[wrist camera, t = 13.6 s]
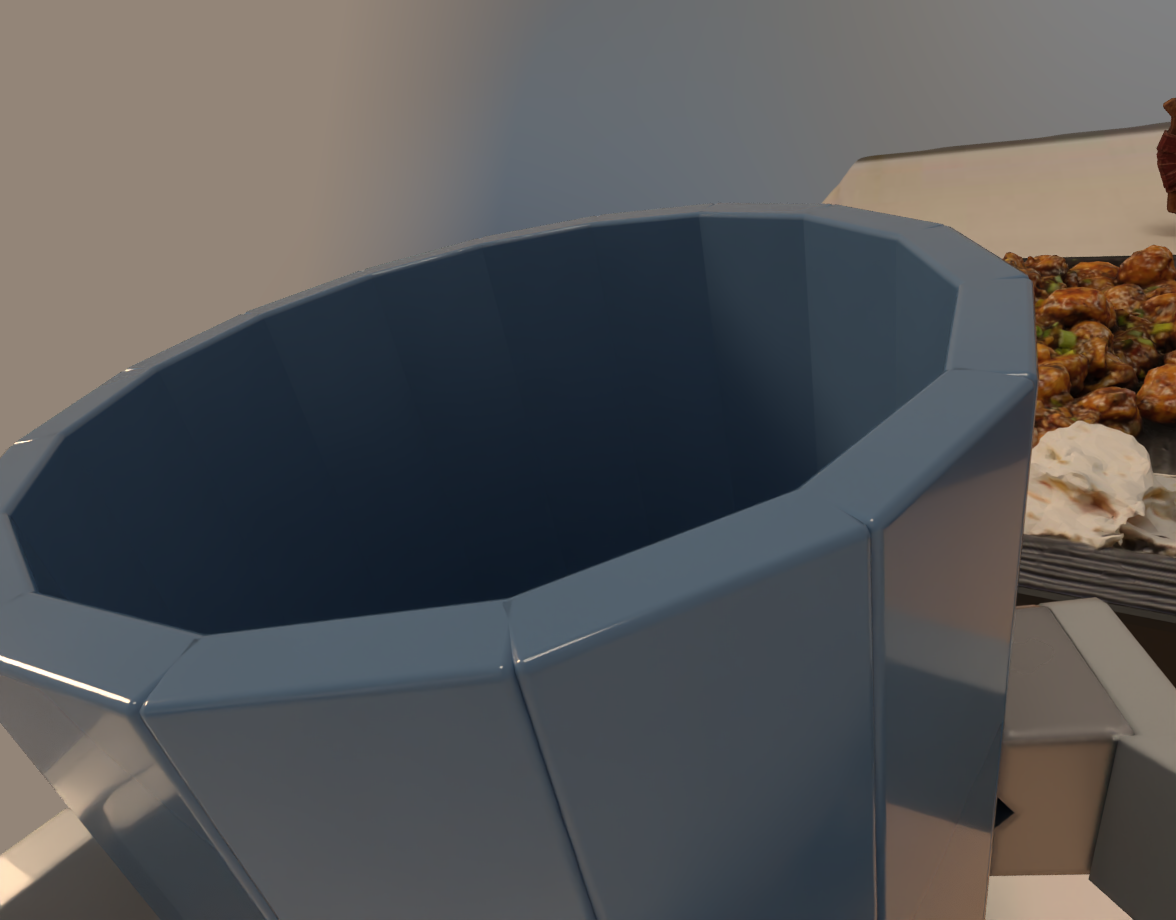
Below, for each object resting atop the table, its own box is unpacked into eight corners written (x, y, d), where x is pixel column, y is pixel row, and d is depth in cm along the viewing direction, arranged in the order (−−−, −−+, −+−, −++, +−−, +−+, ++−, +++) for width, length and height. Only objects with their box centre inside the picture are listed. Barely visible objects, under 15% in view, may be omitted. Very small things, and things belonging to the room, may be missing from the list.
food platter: (1317, 744, 28) (1406, 519, 24) (716, 599, 42) (693, 437, 37) (1242, 308, 59) (1274, 172, 54) (910, 305, 73) (911, 196, 68)
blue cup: (361, 1424, 8) (-498, 780, 3) (480, 819, 14) (256, 278, 9) (1076, 1452, 7) (1507, 565, 2) (870, 788, 13) (855, 164, 8)
